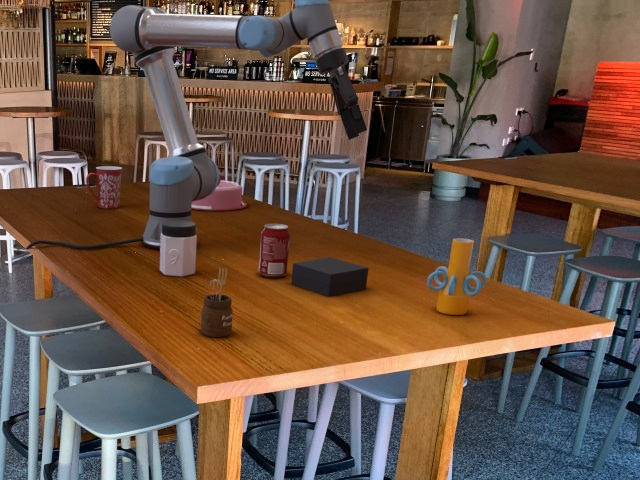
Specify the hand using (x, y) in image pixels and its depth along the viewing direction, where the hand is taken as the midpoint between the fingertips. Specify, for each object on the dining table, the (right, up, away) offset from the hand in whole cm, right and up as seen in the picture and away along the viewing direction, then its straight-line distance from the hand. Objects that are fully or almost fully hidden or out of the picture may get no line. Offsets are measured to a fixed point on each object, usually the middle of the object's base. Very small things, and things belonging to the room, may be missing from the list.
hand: (357, 135), depth 200 cm
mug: (-67, -1, +78) cm, 103 cm away
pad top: (-12, -38, -18) cm, 43 cm away
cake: (-28, +1, +84) cm, 89 cm away
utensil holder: (-41, -53, -48) cm, 83 cm away
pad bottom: (-12, -40, -17) cm, 45 cm away
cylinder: (+10, -48, -34) cm, 59 cm away
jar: (-46, -36, -6) cm, 58 cm away
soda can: (-23, -37, -8) cm, 44 cm away
